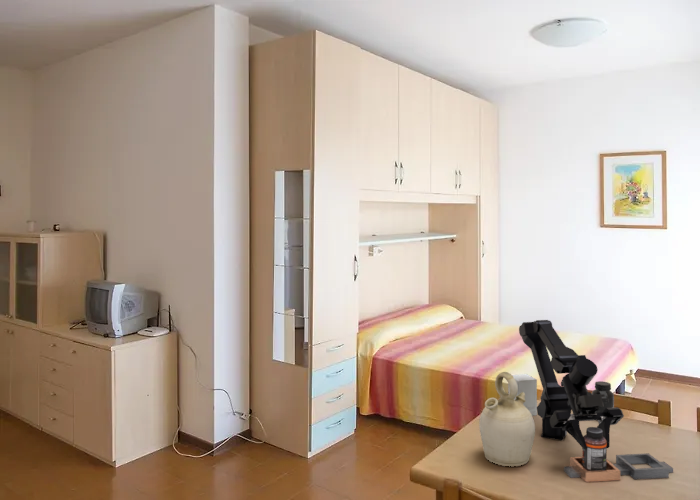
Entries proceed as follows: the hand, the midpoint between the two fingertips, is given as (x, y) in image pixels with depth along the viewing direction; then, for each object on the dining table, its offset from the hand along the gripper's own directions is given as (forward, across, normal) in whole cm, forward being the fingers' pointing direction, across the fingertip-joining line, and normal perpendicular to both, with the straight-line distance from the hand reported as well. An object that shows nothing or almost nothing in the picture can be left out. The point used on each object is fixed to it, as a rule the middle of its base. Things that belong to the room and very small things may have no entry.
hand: (596, 448), depth 150 cm
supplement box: (-27, -2, +39) cm, 48 cm away
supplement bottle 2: (+4, 0, +6) cm, 7 cm away
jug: (-4, -20, +15) cm, 25 cm away
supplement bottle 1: (-21, +22, +32) cm, 45 cm away
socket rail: (+4, +6, +6) cm, 10 cm away
